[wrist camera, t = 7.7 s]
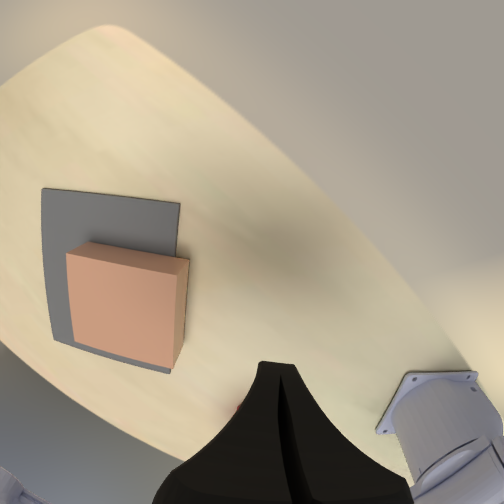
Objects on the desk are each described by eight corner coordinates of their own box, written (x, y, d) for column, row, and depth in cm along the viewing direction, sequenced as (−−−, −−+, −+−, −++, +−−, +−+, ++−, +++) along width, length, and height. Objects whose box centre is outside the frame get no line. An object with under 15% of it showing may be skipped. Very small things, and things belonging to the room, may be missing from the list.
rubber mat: (180, 203, 20) (178, 204, 20) (170, 372, 24) (169, 374, 24) (43, 188, 20) (41, 188, 20) (55, 338, 24) (53, 339, 24)
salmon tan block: (177, 275, 17) (66, 253, 18) (172, 368, 19) (74, 341, 20) (190, 258, 21) (89, 240, 21) (183, 344, 23) (93, 321, 23)
